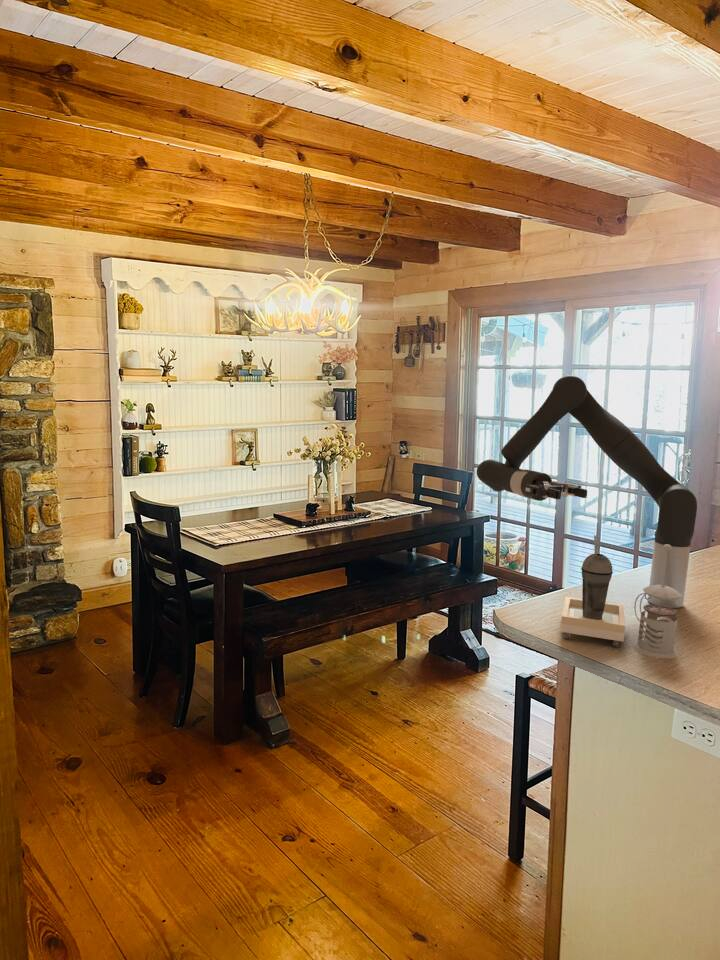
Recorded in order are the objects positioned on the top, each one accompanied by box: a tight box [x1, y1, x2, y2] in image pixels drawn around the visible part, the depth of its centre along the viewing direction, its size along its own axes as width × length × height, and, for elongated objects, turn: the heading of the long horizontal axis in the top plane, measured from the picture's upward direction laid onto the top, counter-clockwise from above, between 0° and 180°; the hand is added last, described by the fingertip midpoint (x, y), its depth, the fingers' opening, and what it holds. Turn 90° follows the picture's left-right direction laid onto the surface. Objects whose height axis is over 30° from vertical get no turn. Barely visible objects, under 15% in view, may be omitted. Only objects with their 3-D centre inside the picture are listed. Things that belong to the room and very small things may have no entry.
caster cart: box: [559, 596, 626, 648], centre depth 171 cm, size 16×14×6 cm
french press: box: [632, 544, 681, 659], centre depth 162 cm, size 10×12×25 cm
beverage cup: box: [580, 535, 614, 620], centre depth 170 cm, size 7×7×20 cm
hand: (573, 494), depth 177 cm, fingers open, 8 cm apart
